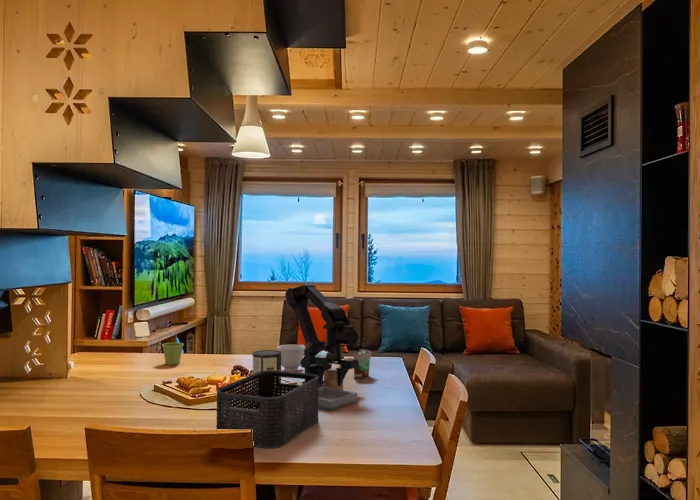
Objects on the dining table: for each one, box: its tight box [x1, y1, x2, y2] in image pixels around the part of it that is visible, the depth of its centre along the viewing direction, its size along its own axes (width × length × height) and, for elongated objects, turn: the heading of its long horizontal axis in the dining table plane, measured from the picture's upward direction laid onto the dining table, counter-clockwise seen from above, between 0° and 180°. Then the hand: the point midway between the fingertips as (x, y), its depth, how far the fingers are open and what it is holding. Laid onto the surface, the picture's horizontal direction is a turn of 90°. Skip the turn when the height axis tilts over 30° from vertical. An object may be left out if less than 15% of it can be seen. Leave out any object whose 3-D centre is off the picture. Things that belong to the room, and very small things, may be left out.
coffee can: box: [252, 349, 282, 394], centre depth 197 cm, size 10×10×14 cm
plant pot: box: [161, 342, 185, 366], centre depth 247 cm, size 9×9×9 cm
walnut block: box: [323, 367, 344, 390], centre depth 202 cm, size 5×5×7 cm
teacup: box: [276, 343, 306, 372], centre depth 237 cm, size 12×15×10 cm
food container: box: [353, 348, 373, 380], centre depth 225 cm, size 12×6×10 cm, turn 168°
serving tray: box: [301, 386, 358, 412], centre depth 183 cm, size 14×14×3 cm
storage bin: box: [215, 370, 319, 450], centre depth 154 cm, size 29×19×13 cm
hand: (333, 385), depth 202 cm, fingers closed on walnut block, 5 cm apart
